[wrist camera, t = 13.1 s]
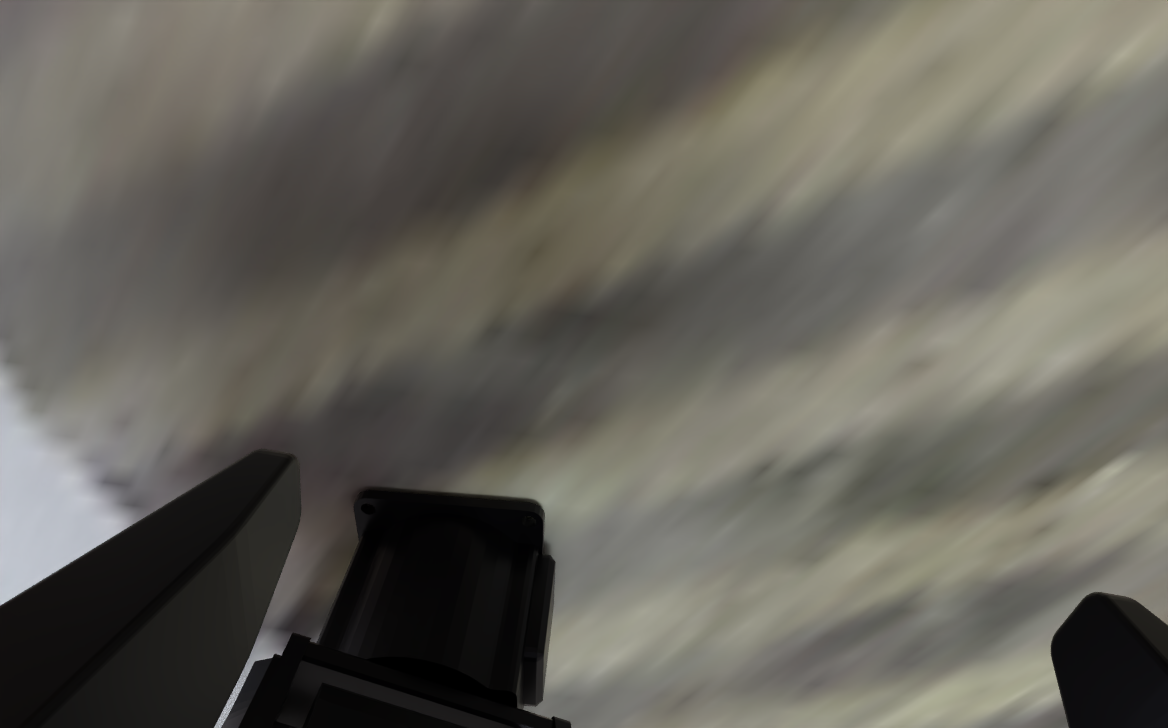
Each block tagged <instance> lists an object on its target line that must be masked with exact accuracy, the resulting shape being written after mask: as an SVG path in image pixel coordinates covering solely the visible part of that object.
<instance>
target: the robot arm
mask: <svg viewBox="0 0 1168 728" xmlns="http://www.w3.org/2000/svg"><path fill="white" fill-rule="evenodd" d="M367 504H371V505H373V506H369V505H367ZM354 513H355V519H356V525H357V531H358V538H359V543H358V545H357V548H356V550H355V553H354V555H353V557H352V560H351V562H350V565H349V567H348V569H347V572H346V574H345V577H344V579H343V581H342V584H341V586H340V589H339V591H338V593H337V596H336V598H335V601H334V603H333V605H332V608H331V610H330V613H329V615H328V617H327V620H326V622H325V624H324V627H323V629H322V632H321V634H320V636H319V639H318V641H317V643H314V642H310V639H311V638H309V637H306V636H303V635H300V634H296V633H292V635H291V637H290V639H289V642H288V644H287V646H286V648H285V650H284V652H283V654H282V656H281V655H277V654H274V656H273V658H270V659H265V660H260V661H255V662H254V664H253V666H252V669H251V671H250V673H249V675H248V677H247V679H246V681H245V683H244V685H243V687H242V689H241V691H240V693H239V695H238V697H237V699H236V701H235V703H234V705H233V707H232V709H231V711H230V713H229V715H228V717H227V718H226V720H225V722H224V724H223V725H222V727H221V728H571V723H570V721H567V720H563V719H560V718H557V717H554V716H553V717H552V718H551V719H550V718H547V717H544V716H541V715H538V714H535V713H531V712H528V711H525V710H523V707H524V706H535V707H536V706H537V705H538V704H539V703H540V702H541V701H542V700H543V693H544V685H545V676H546V667H547V659H548V650H549V641H550V633H551V624H552V616H553V607H554V584H555V561H554V559H553V558H552V557H551V556H550V555H544V519H545V514H544V510H543V509H542V508H541V507H540V506H538V505H537V504H534V503H527V502H515V501H502V500H489V499H476V498H464V497H451V496H438V495H425V494H413V493H400V492H387V491H374V490H366V491H363V492H361V493H360V494H359V495H358V497H357V499H356V501H355V503H354ZM300 516H301V491H300V470H299V462H298V459H297V457H296V456H294V455H293V454H290V453H285V452H279V451H273V450H267V449H259V450H256V451H253V452H251V453H250V454H248V455H246V456H245V457H243V458H241V459H240V460H238V461H236V462H235V463H233V464H232V465H230V466H228V467H227V468H225V469H223V470H222V471H220V472H218V473H217V474H215V475H214V476H212V477H210V478H209V479H207V480H205V481H204V482H202V483H200V484H199V485H197V486H196V487H194V488H192V489H191V490H189V491H187V492H186V493H184V494H182V495H181V496H179V497H178V498H176V499H174V500H173V501H171V502H169V503H168V504H166V505H164V506H163V507H161V508H159V509H158V510H156V511H155V512H153V513H151V514H150V515H148V516H146V517H145V518H143V519H141V520H140V521H138V522H137V523H135V524H133V525H132V526H130V527H128V528H127V529H125V530H123V531H122V532H120V533H119V534H117V535H115V536H114V537H112V538H110V539H109V540H107V541H105V542H104V543H102V544H101V545H99V546H97V547H96V548H94V549H92V550H91V551H89V552H87V553H86V554H84V555H82V556H81V557H79V558H78V559H76V560H74V561H73V562H71V563H69V564H68V565H66V566H64V567H63V568H61V569H60V570H58V571H56V572H55V573H53V574H51V575H50V576H48V577H46V578H45V579H43V580H42V581H40V582H38V583H37V584H35V585H33V586H32V587H30V588H28V589H27V590H25V591H24V592H22V593H20V594H19V595H17V596H15V597H14V598H12V599H10V600H9V601H7V602H5V603H4V604H2V605H1V606H0V728H214V726H215V724H216V722H217V721H218V719H219V717H220V715H221V713H222V711H223V709H224V707H225V705H226V703H227V701H228V699H229V697H230V695H231V693H232V691H233V689H234V687H235V685H236V683H237V681H238V679H239V677H240V675H241V673H242V671H243V669H244V667H245V665H246V662H247V660H248V658H249V656H250V654H251V651H252V649H253V646H254V644H255V641H256V638H257V636H258V633H259V631H260V628H261V625H262V623H263V620H264V617H265V615H266V612H267V609H268V607H269V604H270V601H271V599H272V596H273V593H274V591H275V588H276V585H277V583H278V580H279V577H280V575H281V572H282V569H283V567H284V564H285V561H286V559H287V556H288V553H289V551H290V548H291V545H292V542H293V540H294V537H295V534H296V532H297V529H298V525H299V522H300ZM526 516H530V517H533V518H534V519H529V518H526ZM1051 657H1052V662H1053V666H1054V670H1055V674H1056V678H1057V682H1058V686H1059V690H1060V694H1061V698H1062V702H1063V706H1064V710H1065V714H1066V718H1067V722H1068V726H1069V728H1168V625H1167V624H1165V623H1164V622H1163V621H1162V620H1160V619H1159V618H1158V617H1156V616H1155V615H1154V614H1153V613H1151V612H1150V611H1149V610H1148V609H1146V608H1145V607H1144V606H1142V605H1141V604H1140V603H1138V602H1137V601H1136V600H1133V599H1131V598H1129V597H1125V596H1120V595H1114V594H1108V593H1102V592H1093V593H1091V594H1089V595H1087V596H1086V597H1085V598H1083V599H1082V601H1081V602H1080V603H1079V604H1078V606H1077V607H1076V608H1075V609H1074V611H1073V612H1072V613H1071V614H1070V615H1069V617H1068V618H1067V619H1066V620H1065V622H1064V623H1063V624H1062V625H1061V626H1060V628H1059V629H1058V630H1057V631H1056V633H1055V634H1054V636H1053V639H1052V643H1051Z"/></svg>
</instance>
